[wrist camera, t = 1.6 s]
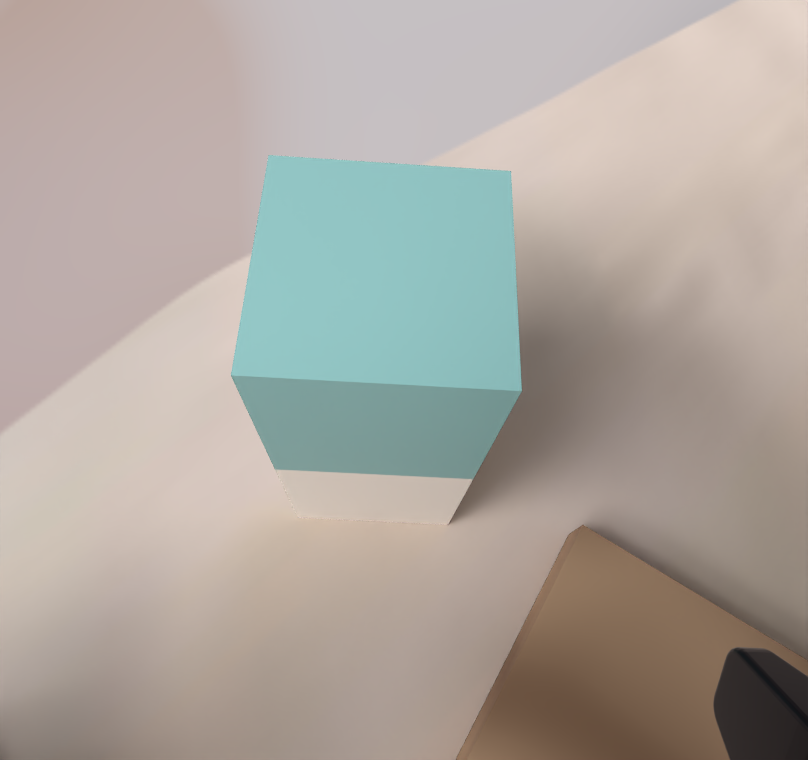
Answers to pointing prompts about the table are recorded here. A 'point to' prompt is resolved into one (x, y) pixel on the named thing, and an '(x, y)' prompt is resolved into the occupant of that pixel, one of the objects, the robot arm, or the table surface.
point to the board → (612, 666)
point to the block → (379, 333)
